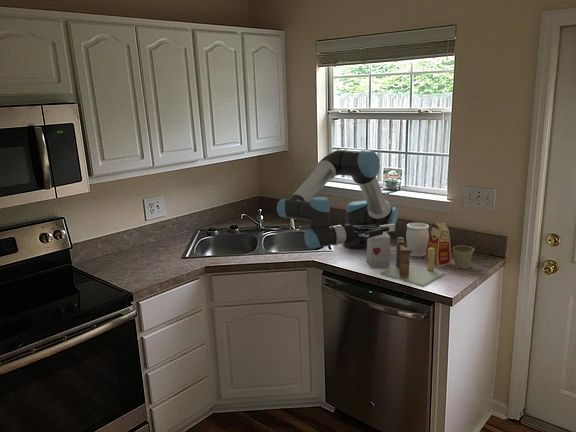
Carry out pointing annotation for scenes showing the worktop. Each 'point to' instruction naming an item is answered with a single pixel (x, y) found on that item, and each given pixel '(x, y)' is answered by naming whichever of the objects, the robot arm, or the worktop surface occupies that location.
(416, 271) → the gate frame
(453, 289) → the worktop surface
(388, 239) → the supplement box
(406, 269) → the gate
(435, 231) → the milk carton
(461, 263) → the flower pot
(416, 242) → the jar
